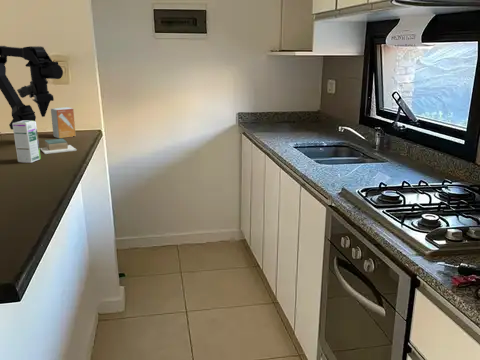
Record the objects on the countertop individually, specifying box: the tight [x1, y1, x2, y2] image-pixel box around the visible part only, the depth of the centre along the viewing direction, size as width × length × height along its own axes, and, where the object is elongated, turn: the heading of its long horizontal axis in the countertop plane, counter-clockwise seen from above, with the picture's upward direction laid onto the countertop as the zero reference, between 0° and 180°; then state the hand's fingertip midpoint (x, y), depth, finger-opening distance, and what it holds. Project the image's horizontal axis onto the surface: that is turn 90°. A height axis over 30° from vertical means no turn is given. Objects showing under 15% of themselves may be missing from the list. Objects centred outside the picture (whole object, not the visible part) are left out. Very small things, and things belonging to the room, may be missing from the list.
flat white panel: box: [39, 144, 77, 155], centre depth 187 cm, size 10×12×1 cm
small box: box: [50, 106, 77, 139], centre depth 212 cm, size 8×6×13 cm
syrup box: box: [12, 120, 42, 164], centre depth 167 cm, size 6×6×14 cm
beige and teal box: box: [44, 138, 69, 150], centre depth 188 cm, size 3×7×8 cm
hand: (43, 116), depth 192 cm, fingers closed
